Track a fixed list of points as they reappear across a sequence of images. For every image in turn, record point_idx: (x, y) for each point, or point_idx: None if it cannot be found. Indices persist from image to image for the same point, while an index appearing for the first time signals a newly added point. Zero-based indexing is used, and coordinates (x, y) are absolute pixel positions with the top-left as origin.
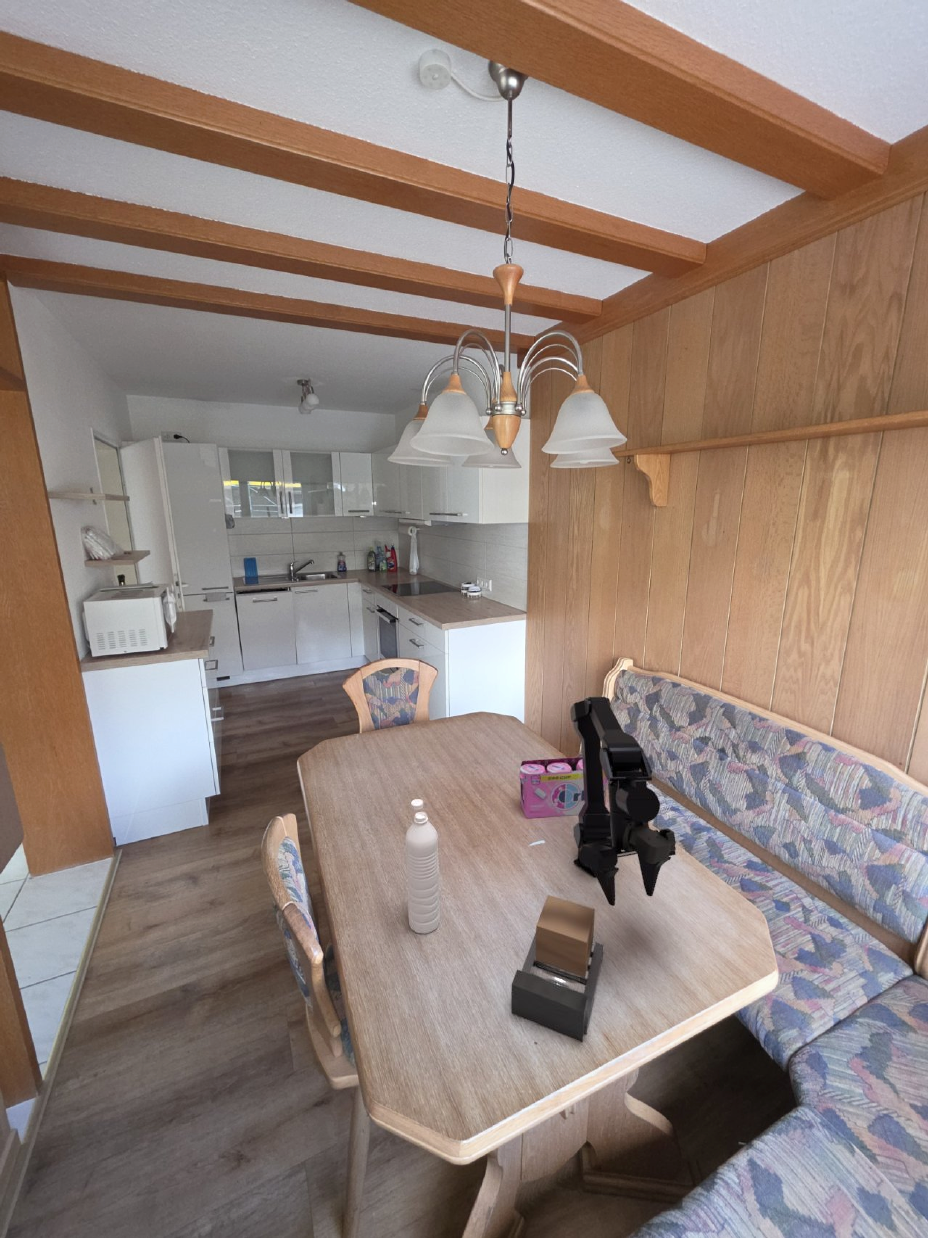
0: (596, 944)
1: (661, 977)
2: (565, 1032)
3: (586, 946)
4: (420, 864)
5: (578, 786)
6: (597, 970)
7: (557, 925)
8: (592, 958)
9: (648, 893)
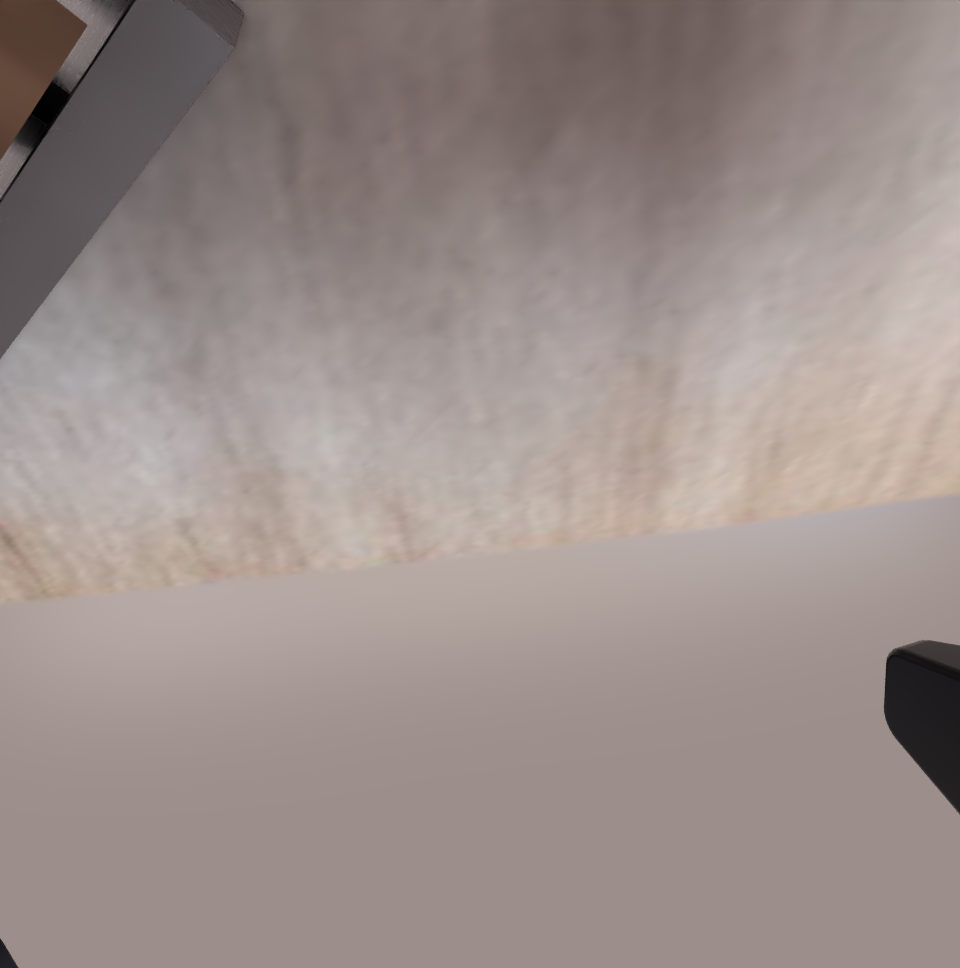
0: (145, 16)
1: (570, 358)
2: None
3: None
4: None
5: None
6: (46, 281)
7: None
8: (35, 159)
9: (911, 711)
